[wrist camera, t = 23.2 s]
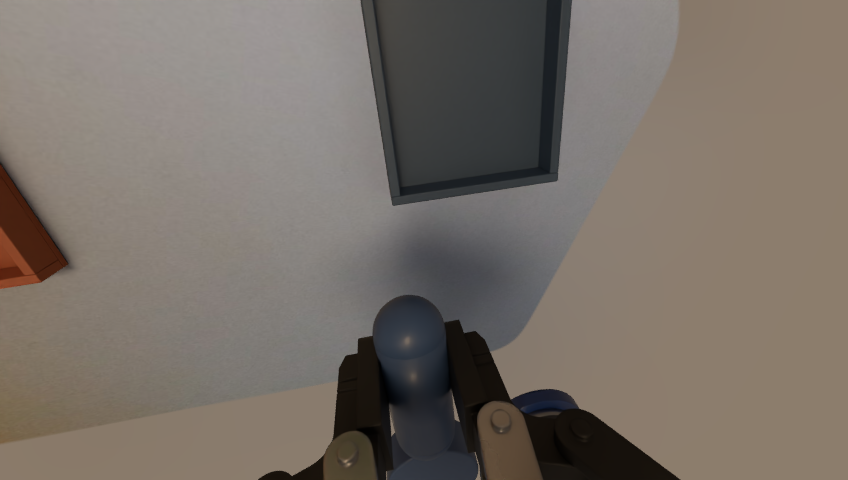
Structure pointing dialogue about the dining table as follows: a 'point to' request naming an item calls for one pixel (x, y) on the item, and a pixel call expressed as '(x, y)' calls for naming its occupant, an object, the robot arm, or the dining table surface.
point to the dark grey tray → (468, 93)
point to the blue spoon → (420, 393)
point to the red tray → (23, 241)
